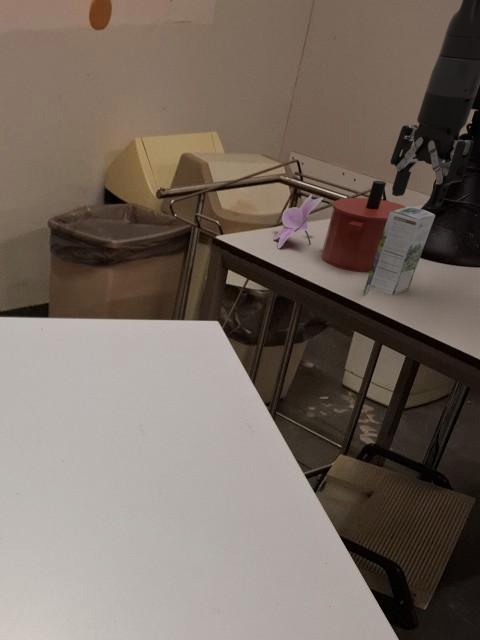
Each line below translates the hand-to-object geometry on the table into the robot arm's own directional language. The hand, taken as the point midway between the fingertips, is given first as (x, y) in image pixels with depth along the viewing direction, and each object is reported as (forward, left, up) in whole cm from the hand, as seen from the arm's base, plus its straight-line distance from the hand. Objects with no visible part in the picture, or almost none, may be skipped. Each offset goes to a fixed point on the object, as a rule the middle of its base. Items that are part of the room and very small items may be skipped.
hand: (414, 201), depth 144 cm
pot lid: (+11, -18, -7) cm, 22 cm away
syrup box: (0, 0, -16) cm, 16 cm away
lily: (+26, -20, -16) cm, 36 cm away
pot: (+11, -18, -16) cm, 27 cm away
